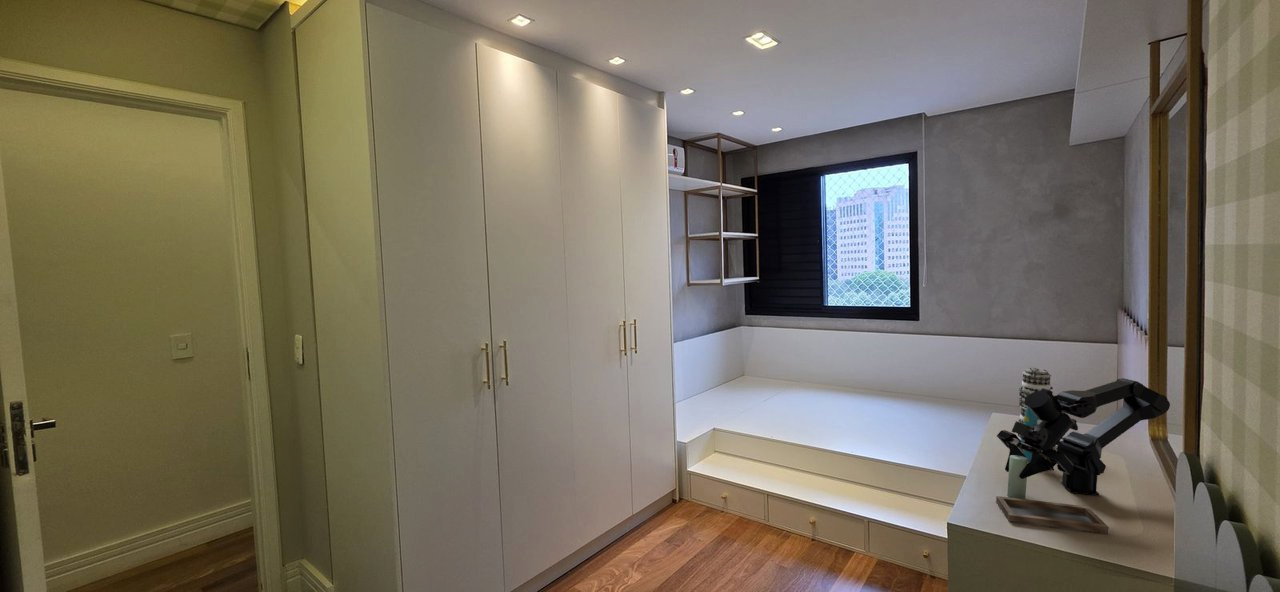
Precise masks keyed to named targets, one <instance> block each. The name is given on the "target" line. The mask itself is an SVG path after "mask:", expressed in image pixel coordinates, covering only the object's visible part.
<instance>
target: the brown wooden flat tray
mask: <svg viewBox="0 0 1280 592" xmlns="http://www.w3.org/2000/svg"><path fill="white" fill-rule="evenodd" d="M995 498H996V501H995V503H996V504H998V505H997V507H999V509H1000V511H1001V510H1002V511H1001V512H1002V514H1003V513H1004V514H1003V515H1004V516H1005V518H1006V520H1007V521H1008V523H1012V524H1013V523H1015V524H1023V525H1030V526H1038V527H1039V526H1040V527H1048V528H1055V529H1062V530H1069V531H1077V532H1083V533H1084V532H1086V533H1092V534H1094V533H1095V534H1102V535H1109V530H1110V528H1109V527H1110V526H1108V525H1107V524H1106V523H1105V522H1104V520H1102V519H1101V518H1100V517H1099V515H1097V514H1096V513H1095V512H1094V511H1093V510H1092V509H1091V508H1090V507H1089V506H1088V505H1087V506H1086V505H1078V504H1070V503H1061V502H1053V501H1052V502H1051V501H1045V500H1044V501H1042V500H1036V499H1035V500H1034V499H1026V498H1025V499H1018V498H1010V497H1008V496H999V495H997V496H996V497H995Z"/></svg>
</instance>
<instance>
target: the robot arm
mask: <svg viewBox="0 0 1280 592" xmlns="http://www.w3.org/2000/svg"><path fill="white" fill-rule="evenodd" d="M1050 390H1051V389H1050ZM1050 390H1048V389H1044V388H1042V389H1041V391H1036V392H1033V393H1031V394H1029V395H1027V396H1026V398H1025V404H1026V405H1027V406H1028V407H1029V409H1030V410H1031V411H1032V412H1033V413H1034V414H1035V415H1036V417H1037V418H1038V419H1040V420H1042V421H1041V423H1040V424H1039V425H1035V424H1034V425H1032V426H1028V425H1026V424H1023V423H1020V422H1019V421H1018V420H1017V421H1015V422H1014V425H1013V427H1012V429H1011V431H1008V430H1006V429H1002V430H1000V431H999V432H998V434H997V435H996V438H998V439H999V441H1001V442H1002V444H1004V445H1005V447H1006V448H1008V449H1009V453H1008V457H1007V461H1006V463H1005V464H1006V465H1005V467H1004V468H1005V469H1004V470H1005V471H1006V472H1007V473H1009V461H1010V456H1011V455H1019V456H1023V457H1026V456H1025V455H1024V454H1023V453H1024V451H1028V452H1030V453H1032V458H1031V461H1030V462H1029V461H1028V464H1027V466H1026V467H1025V468H1024V469H1023V470H1022V472H1021V473H1020V475H1019V477H1020V478H1021V479H1024V478H1027V479H1028V478H1030V477H1031V476H1034V475H1038V474H1042V473H1045V472H1048V471H1055V466H1056V467H1057V470H1058V471H1059V472H1062V480H1061V484H1062V485H1063V486H1064V487H1065V489H1067V490H1068V491H1069V493H1073V494H1081V495H1091V496H1100V493H1099V492H1098V491H1097V488H1098V487H1097V485H1098V476H1100V475H1101V474H1105V471H1106V467H1107V466H1106V464H1105V463H1104V462H1103V461H1102V460H1101V458H1102V451H1103V449H1104V448H1105V447H1106V446H1108V445H1109V444H1110V443H1112V442H1113V441H1115V440H1116V439H1117V438H1118V437H1120V436H1121V435H1123V434H1124V433H1125V432H1127V431H1128V430H1130V429H1132V428H1133V427H1134V426H1136V424H1138V423H1139V422H1142V421H1146V420H1152V419H1153V420H1154V419H1157V418H1159V417H1161V416H1163V415H1164V414H1167V413H1166V412H1168V411H1169V410H1170V407H1171V404H1170V401H1169V399H1168V398H1167V397H1168V396H1166V395H1164V394H1160V393H1159V392H1157V391H1155V390H1152V389H1151V388H1148V387H1147V386H1145V385H1144V384H1143V383H1141V382H1139V381H1136V380H1133V379H1128V378H1124V377H1123V378H1117V379H1116V380H1115V381H1112V382H1108V383H1105V384H1103V385H1099V386H1096V387H1092V388H1089V389H1086V390H1071V389H1070V390H1064V391H1061V392H1059V393H1058V394H1055V395H1054V393H1052V392H1053V391H1052V390H1051V391H1052V392H1051V391H1050ZM1120 400H1122V407H1120V408H1119V409H1117V410H1116V411H1114V412H1113V413H1112V414H1111V415H1109V416H1108V417H1106V418H1105V419H1104V420H1102V421H1101V422H1100V423H1098V424H1097V425H1095V426H1093V427H1092V428H1090V430H1088V431H1086V432H1085V433H1083V434H1082V433H1080V432H1077V431H1078V430H1079V426H1078V424H1077V421H1078V420H1076V419H1074V418H1071V417H1070V415H1071V416H1074V417H1076V418H1080V419H1084V418H1087V417H1090V415H1093V414H1095V413H1096V411H1097V409H1098V408H1100V407H1101V406H1105V405H1107V404H1111V403H1114V402H1118V401H1120ZM1070 430H1072V431H1071V432H1070V433H1069V434H1067V433H1068V431H1070ZM1073 430H1074V431H1073ZM1016 434H1017V435H1016ZM1018 434H1020V435H1021V436H1020V437H1021V438H1022V439H1023V440H1024V441H1025V442H1022V441H1021V440H1020V439H1019V438H1018V437H1019V436H1018ZM1066 434H1067V435H1066ZM1065 435H1066V436H1065ZM1055 447H1056V449H1054V448H1055ZM1026 458H1027V457H1026Z"/></svg>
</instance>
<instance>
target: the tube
mask: <svg viewBox="0 0 1280 592" xmlns="http://www.w3.org/2000/svg"><path fill="white" fill-rule="evenodd" d="M1023 424H1026V425H1028V426H1032V425H1034V424H1035V425H1038V423H1037V417H1036V415H1035V414H1034V413H1033V412H1032V411H1031V410H1030V409H1029V407H1028V406H1027V410H1026V414H1025V418H1024V423H1023ZM1021 441H1022V442H1025V441H1024V440H1023V439H1022V438H1021ZM1023 454H1024V455H1025V456H1026V457H1027V459H1028V463H1029V462H1030V461H1031V458H1032V453H1030V452H1028V451H1024V453H1023Z"/></svg>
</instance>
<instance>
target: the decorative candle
mask: <svg viewBox="0 0 1280 592" xmlns="http://www.w3.org/2000/svg"><path fill="white" fill-rule="evenodd" d="M1021 374H1022V381H1021V386H1020V387H1019V390H1018V391H1019V393H1018V394H1019V396H1020V397H1019V403H1018V405H1019V407H1020V414H1019V418H1018V422H1020V423H1024V418H1025V414H1026V410H1027V405H1026V404H1025V398H1026V396H1027V395H1029V394H1031V393H1033V392H1036V391H1041V389H1042V388H1044V389H1048V390H1050V391H1051V392H1052V394H1054V393H1053V391H1052V390H1054V389H1053V388H1054V387H1053V386H1051V377H1052V375H1051V374H1050V373H1049V371H1047V370H1046V369H1043V368H1039V367H1038V368H1036V367H1028V368H1026V369H1025V370H1023V371H1022V372H1021ZM1041 421H1042V420H1040V419H1038V418H1037V423H1038V425H1039V424H1040V423H1041ZM1020 436H1021V435H1020V434H1017V437H1018V438H1019V439H1020V440H1021V437H1020Z"/></svg>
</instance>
